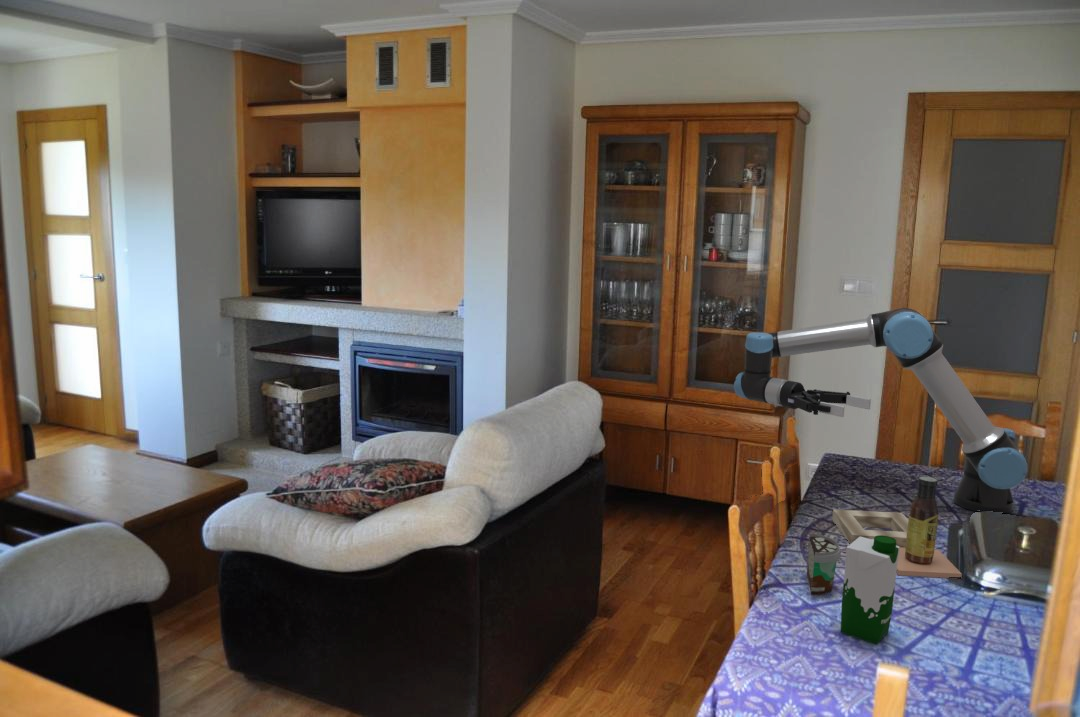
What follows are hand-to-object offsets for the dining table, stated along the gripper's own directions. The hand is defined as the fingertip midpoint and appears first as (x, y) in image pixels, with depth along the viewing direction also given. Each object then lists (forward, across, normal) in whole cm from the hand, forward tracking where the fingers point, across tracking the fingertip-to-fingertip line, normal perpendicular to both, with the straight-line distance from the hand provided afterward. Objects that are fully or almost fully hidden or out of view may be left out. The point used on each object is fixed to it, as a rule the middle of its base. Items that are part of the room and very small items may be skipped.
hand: (856, 408), depth 222 cm
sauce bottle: (+25, +12, -30) cm, 41 cm away
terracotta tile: (+25, +12, -32) cm, 42 cm away
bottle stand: (+9, +2, -31) cm, 33 cm away
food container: (+17, +41, -32) cm, 54 cm away
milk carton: (+33, +53, -32) cm, 70 cm away
